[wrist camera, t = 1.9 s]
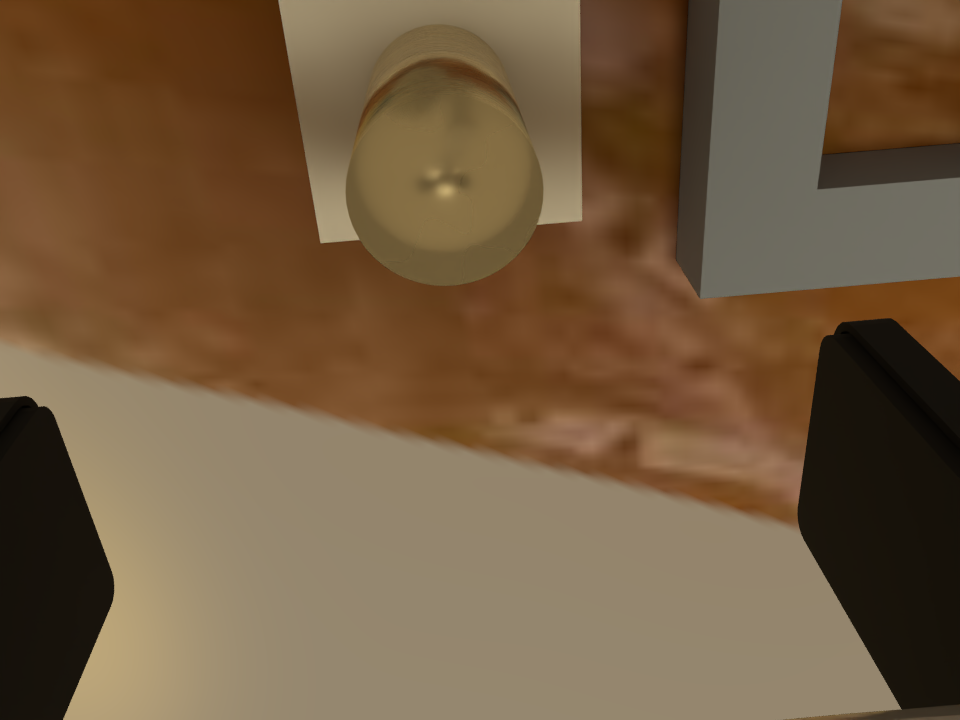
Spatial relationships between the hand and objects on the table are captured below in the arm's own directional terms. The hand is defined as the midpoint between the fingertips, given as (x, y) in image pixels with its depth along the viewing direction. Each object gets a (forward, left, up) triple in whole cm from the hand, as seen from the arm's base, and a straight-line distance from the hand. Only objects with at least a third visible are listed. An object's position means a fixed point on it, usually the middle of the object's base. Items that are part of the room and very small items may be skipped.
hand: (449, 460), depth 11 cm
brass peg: (0, 0, -16) cm, 16 cm away
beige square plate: (0, 0, -18) cm, 18 cm away
